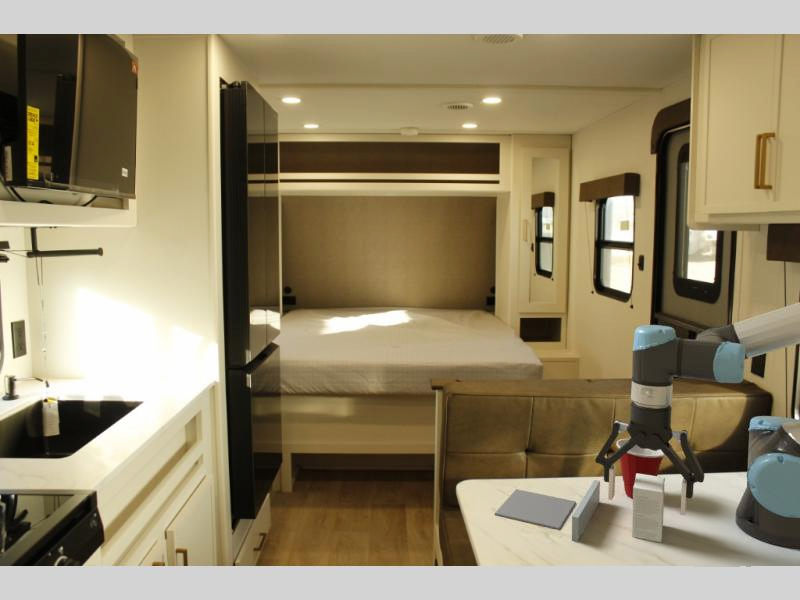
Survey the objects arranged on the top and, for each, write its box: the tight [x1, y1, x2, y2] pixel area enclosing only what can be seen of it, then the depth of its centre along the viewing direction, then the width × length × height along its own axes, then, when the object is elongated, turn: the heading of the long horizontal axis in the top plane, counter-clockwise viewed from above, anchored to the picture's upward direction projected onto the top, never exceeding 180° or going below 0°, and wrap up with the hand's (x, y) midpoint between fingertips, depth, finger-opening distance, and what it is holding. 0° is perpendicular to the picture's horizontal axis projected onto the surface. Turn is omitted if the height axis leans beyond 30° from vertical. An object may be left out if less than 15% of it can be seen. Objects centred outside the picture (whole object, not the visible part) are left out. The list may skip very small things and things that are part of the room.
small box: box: [631, 473, 666, 543], centre depth 121 cm, size 8×6×10 cm
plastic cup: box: [616, 438, 666, 500], centre depth 137 cm, size 11×11×12 cm
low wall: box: [571, 479, 601, 543], centre depth 126 cm, size 1×20×5 cm, turn 150°
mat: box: [494, 488, 577, 531], centre depth 132 cm, size 14×14×1 cm
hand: (646, 504), depth 121 cm, fingers open, 13 cm apart
